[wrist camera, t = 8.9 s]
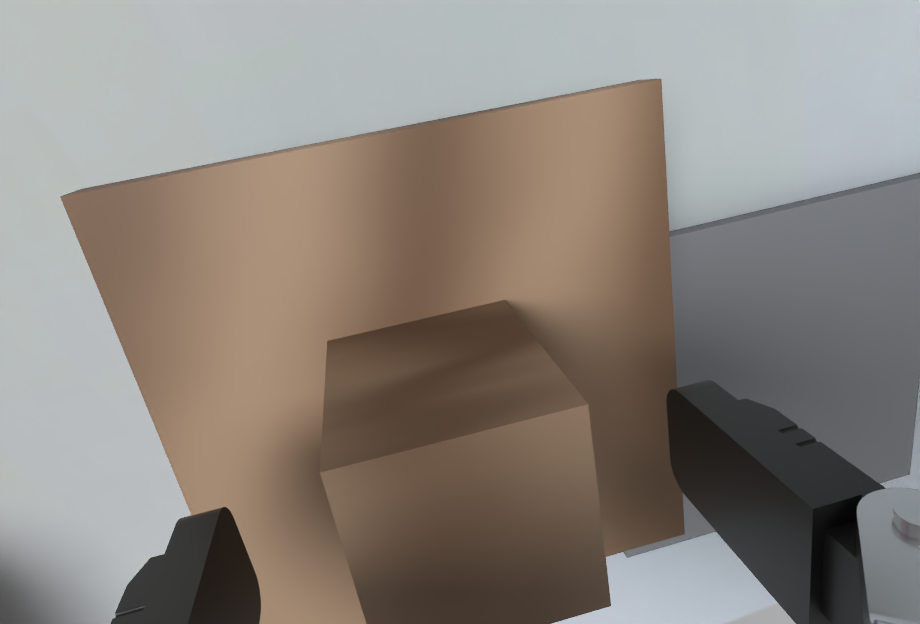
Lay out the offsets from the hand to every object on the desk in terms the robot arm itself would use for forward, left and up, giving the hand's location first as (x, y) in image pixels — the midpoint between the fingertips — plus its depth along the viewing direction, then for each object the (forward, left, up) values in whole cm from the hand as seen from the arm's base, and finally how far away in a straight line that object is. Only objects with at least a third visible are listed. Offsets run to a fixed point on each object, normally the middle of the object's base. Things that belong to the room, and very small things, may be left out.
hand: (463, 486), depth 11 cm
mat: (-14, +7, -11) cm, 19 cm away
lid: (0, 0, -4) cm, 4 cm away
